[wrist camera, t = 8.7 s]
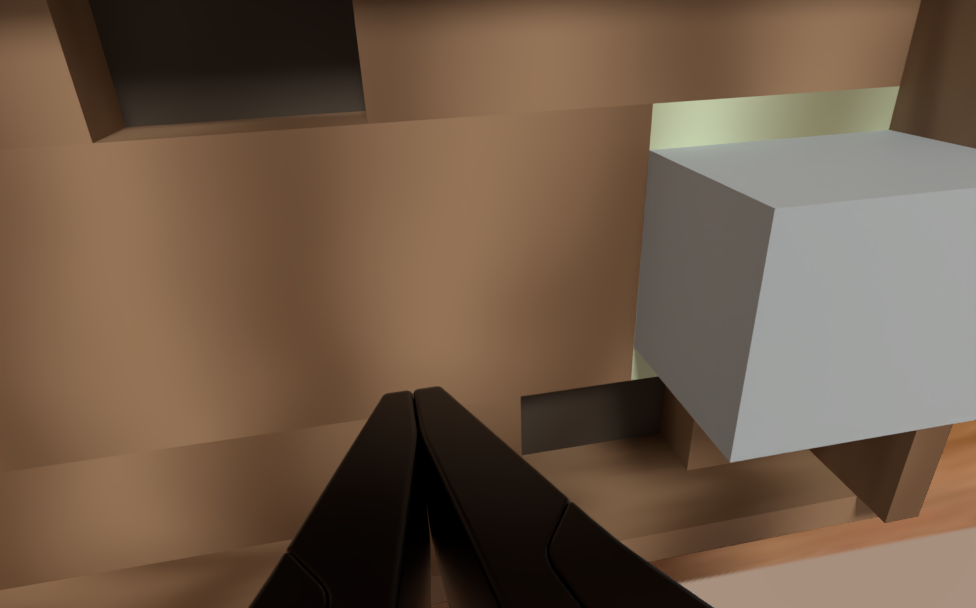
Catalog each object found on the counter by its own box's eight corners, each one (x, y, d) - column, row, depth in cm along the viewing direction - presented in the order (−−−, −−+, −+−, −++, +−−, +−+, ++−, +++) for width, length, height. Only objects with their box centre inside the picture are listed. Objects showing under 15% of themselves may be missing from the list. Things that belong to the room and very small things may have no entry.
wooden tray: (24, 559, 17) (-94, 751, 13) (-345, -129, 10) (-913, -245, 5) (790, 430, 21) (907, 543, 16) (920, -135, 14) (1190, -208, 9)
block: (633, 346, 15) (729, 462, 11) (649, 149, 13) (774, 208, 9) (842, 317, 16) (998, 416, 12) (888, 129, 14) (1097, 174, 10)
